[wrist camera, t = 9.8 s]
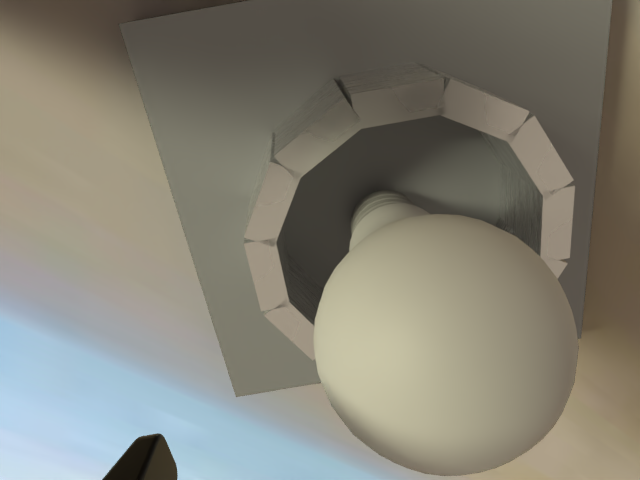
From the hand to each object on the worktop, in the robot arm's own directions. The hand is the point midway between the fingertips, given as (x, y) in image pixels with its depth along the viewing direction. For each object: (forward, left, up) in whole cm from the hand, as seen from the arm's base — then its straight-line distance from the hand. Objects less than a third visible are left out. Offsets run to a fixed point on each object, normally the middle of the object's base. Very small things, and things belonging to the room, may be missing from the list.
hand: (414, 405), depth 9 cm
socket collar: (+1, +2, -11) cm, 11 cm away
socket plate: (+1, +2, -13) cm, 13 cm away
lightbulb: (+1, +1, -11) cm, 11 cm away
